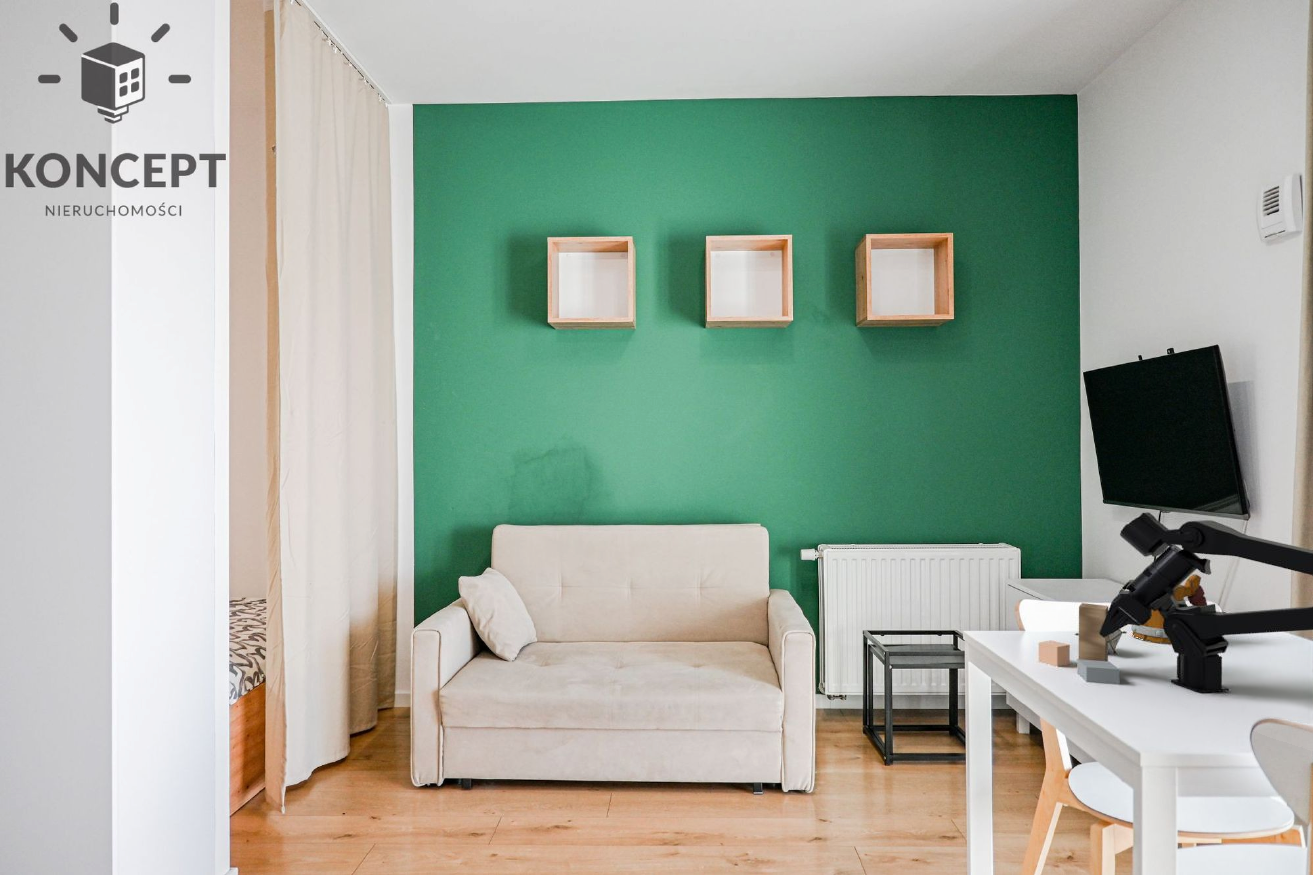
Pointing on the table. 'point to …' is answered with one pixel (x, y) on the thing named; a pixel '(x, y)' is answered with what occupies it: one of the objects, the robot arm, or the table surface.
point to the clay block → (1054, 653)
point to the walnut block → (1092, 632)
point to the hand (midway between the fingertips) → (1104, 630)
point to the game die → (1113, 640)
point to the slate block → (1098, 671)
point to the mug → (1155, 625)
